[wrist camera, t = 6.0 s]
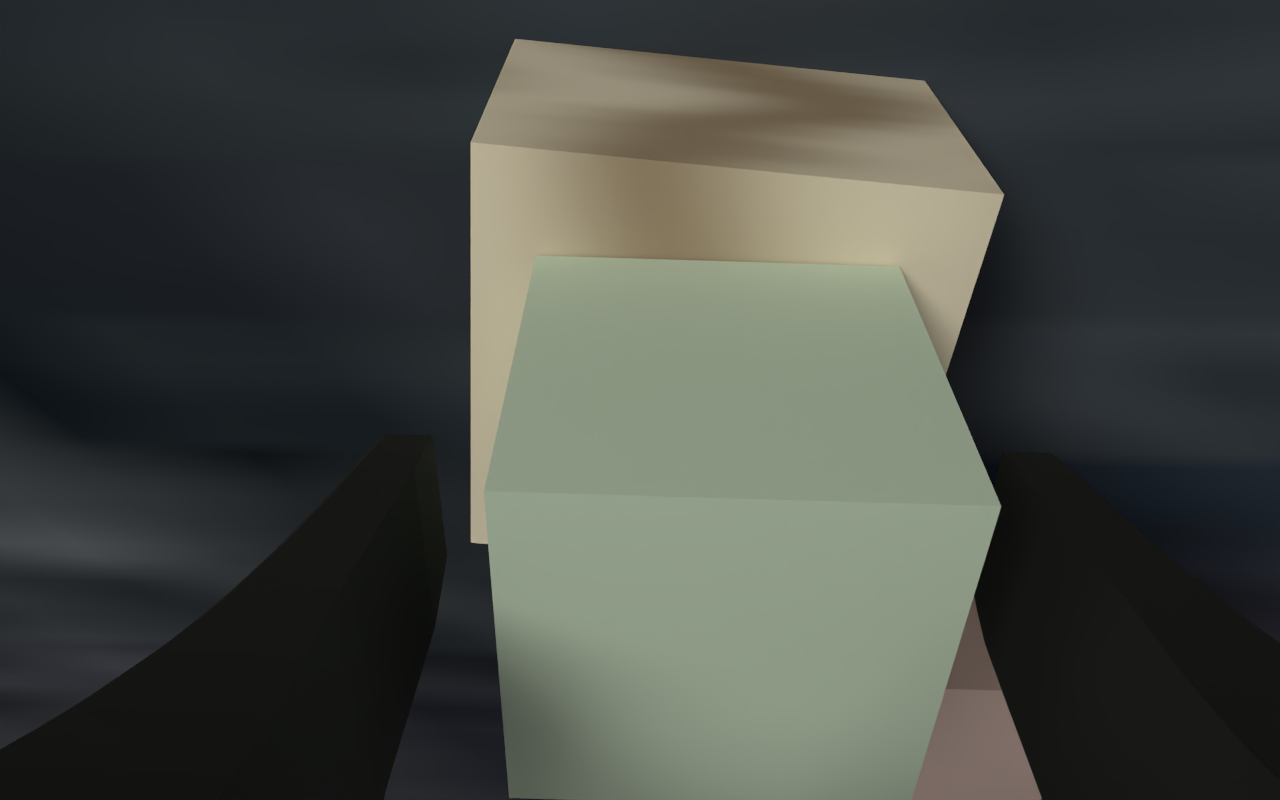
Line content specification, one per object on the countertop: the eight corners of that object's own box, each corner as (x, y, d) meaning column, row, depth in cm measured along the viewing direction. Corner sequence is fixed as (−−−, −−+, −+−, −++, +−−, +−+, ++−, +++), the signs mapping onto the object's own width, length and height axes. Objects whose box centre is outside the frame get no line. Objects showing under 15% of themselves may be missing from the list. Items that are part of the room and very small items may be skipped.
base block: (922, 78, 17) (1003, 194, 13) (837, 407, 21) (880, 576, 17) (516, 36, 17) (470, 142, 13) (507, 378, 21) (471, 542, 17)
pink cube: (1009, 515, 23) (1086, 693, 19) (963, 662, 26) (1021, 846, 22) (790, 507, 23) (818, 684, 19) (767, 656, 26) (788, 838, 22)
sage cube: (899, 266, 14) (1001, 505, 10) (847, 535, 17) (909, 809, 13) (535, 255, 14) (484, 491, 10) (545, 527, 17) (508, 798, 13)
